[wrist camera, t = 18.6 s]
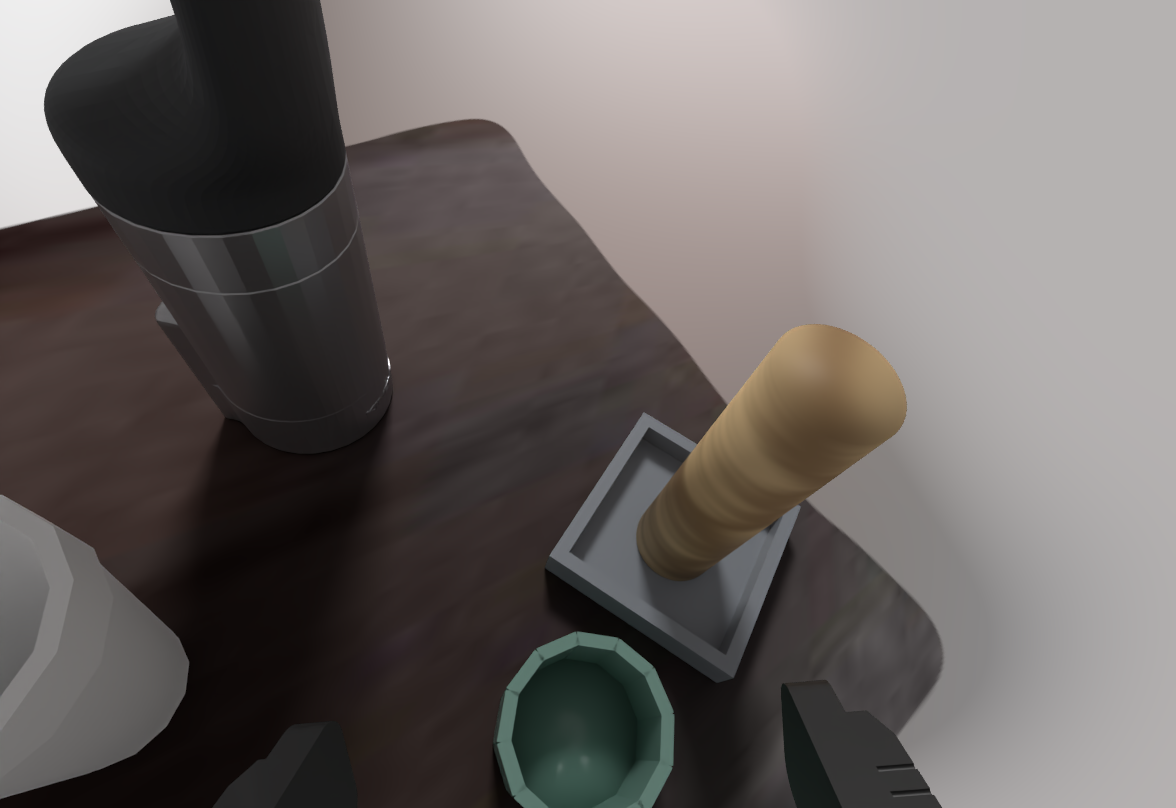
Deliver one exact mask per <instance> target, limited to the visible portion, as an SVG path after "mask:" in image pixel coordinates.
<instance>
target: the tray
mask: <svg viewBox="0 0 1176 808" xmlns="http://www.w3.org/2000/svg"><path fill="white" fill-rule="evenodd" d="M696 446H697V444H696V443H694V442H692V441H691V440H689V439H687V438H686V437H684V436H682V435H681V434H679V433H677V432H676V431H674V430H672V429H671V428H669V427H667V426H666V425H664V424H662V423H661V422H659V421H657V420H656V419H654V418H652V417H651V416H649V415H648V414H646V413H643V415H642V416H641V418H640V419H639V421H638V422H637V424H636V425H635V427H634V428H633V430H632V431H631V433H630V434H629V436H628V437H627V439H626V440H625V442H624V443H623V445H622V446H621V448H620V449H619V451H618V453H617V454H616V456H615V457H614V459H613V460H612V462H611V463H610V465H609V466H608V468H607V469H606V471H605V472H604V474H603V475H602V477H601V478H600V480H599V481H598V483H597V484H596V486H595V487H594V489H593V490H592V492H591V493H590V495H589V497H588V498H587V500H586V501H585V503H584V504H583V506H582V507H581V509H580V510H579V512H578V513H577V515H576V516H575V518H574V519H573V521H572V522H571V524H570V525H569V527H568V528H567V530H566V531H565V533H564V534H563V536H562V538H561V539H560V541H559V542H558V544H557V545H556V547H555V548H554V550H553V551H552V553H551V554H550V556H549V558H548V561H547V563H546V566H545V568H546V569H547V570H549V571H550V572H552V573H553V574H555V575H556V576H558V577H559V578H561V579H562V580H564V581H565V582H567V583H568V584H570V585H571V586H572V587H574V588H575V589H577V590H578V591H580V592H581V593H583V594H584V595H586V596H587V597H589V598H590V599H592V600H593V601H595V602H596V603H598V604H599V605H601V606H602V607H604V608H605V609H607V610H608V611H610V612H611V613H613V614H614V615H616V616H617V617H619V618H620V619H622V620H623V621H625V622H626V623H628V624H629V625H631V626H632V627H634V628H635V629H637V630H638V631H640V632H641V633H643V634H644V635H646V636H647V637H649V638H650V639H652V640H653V641H655V642H656V643H658V644H659V645H661V646H662V647H664V648H665V649H667V650H668V651H670V652H671V653H673V654H674V655H676V656H677V657H679V658H680V659H682V660H683V661H685V662H686V663H688V664H689V665H691V666H692V667H694V668H695V669H697V670H698V671H700V672H701V673H703V674H704V675H706V676H707V677H709V678H710V679H711V680H713V681H714V682H716V683H719V682H722V681H726V680H729V679H732V678H734V676H735V673H736V671H737V668H738V666H739V663H740V661H741V658H742V656H743V653H744V650H745V648H746V645H747V643H748V640H749V638H750V635H751V633H752V630H753V627H754V625H755V622H756V620H757V617H758V615H759V612H760V610H761V607H762V605H763V602H764V599H765V597H766V594H767V592H768V589H769V587H770V584H771V582H772V579H773V576H774V574H775V571H776V569H777V566H778V564H779V561H780V559H781V556H782V553H783V551H784V548H785V546H786V543H787V541H788V538H789V536H790V533H791V530H792V528H793V525H794V523H795V520H796V518H797V515H798V513H799V510H800V506H798V505H797V506H795V507H794V508H792V509H791V510H790V511H788V512H787V513H785V514H784V515H783V516H781V517H780V518H779V519H777V520H776V521H774V522H773V523H772V524H770V525H769V526H768V527H766V528H765V529H763V530H762V531H761V532H759V533H758V534H756V535H755V536H754V537H752V538H751V539H750V540H748V541H747V542H745V543H744V544H743V545H741V546H740V547H738V548H737V549H736V550H734V551H733V552H732V553H730V554H729V555H727V556H726V557H725V558H723V559H722V560H721V561H719V562H718V563H716V564H715V565H714V566H712V567H711V568H709V569H708V570H707V571H705V572H704V573H703V574H701V575H700V576H698V577H696V578H694V579H692V580H688V581H673V580H669V579H666V578H664V577H662V576H660V575H658V574H657V573H656V572H654V571H653V570H652V569H651V568H650V567H649V566H648V565H647V564H646V563H645V561H644V560H643V558H642V556H641V554H640V552H639V549H638V546H637V540H636V532H637V526H638V523H639V521H640V518H641V517H642V515H643V514H644V513H645V511H646V510H647V509H648V507H649V506H650V505H651V504H652V502H653V501H654V500H655V498H656V497H657V496H658V495H659V493H660V492H661V491H662V489H663V488H664V487H665V486H666V484H667V483H668V482H669V480H670V479H671V478H672V477H673V475H674V474H675V473H676V471H677V470H678V469H679V468H680V466H681V465H682V464H683V462H684V461H685V460H686V459H687V457H688V456H689V455H690V453H691V452H692V451H693V450H694V448H695V447H696Z"/></svg>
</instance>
